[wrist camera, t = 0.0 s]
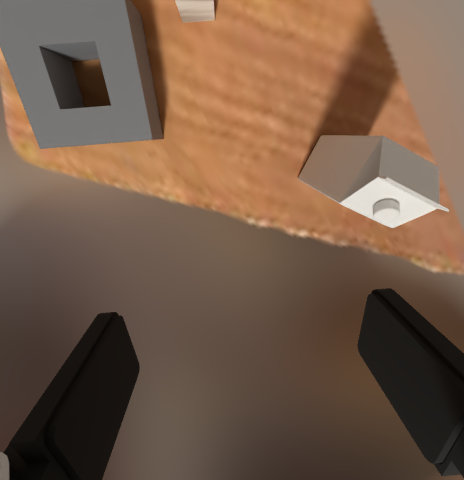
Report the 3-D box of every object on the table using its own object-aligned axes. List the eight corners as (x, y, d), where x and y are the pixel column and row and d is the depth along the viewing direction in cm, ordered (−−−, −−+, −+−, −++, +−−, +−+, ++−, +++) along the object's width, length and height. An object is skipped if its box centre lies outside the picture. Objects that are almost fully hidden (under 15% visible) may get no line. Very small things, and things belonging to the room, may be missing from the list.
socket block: (27, 24, 29) (-19, -2, 23) (141, 15, 29) (122, -13, 23) (68, 146, 34) (40, 148, 29) (163, 138, 34) (152, 139, 29)
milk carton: (320, 134, 35) (416, 135, 18) (358, 154, 37) (480, 173, 19) (296, 178, 38) (360, 216, 20) (332, 195, 39) (420, 244, 22)
